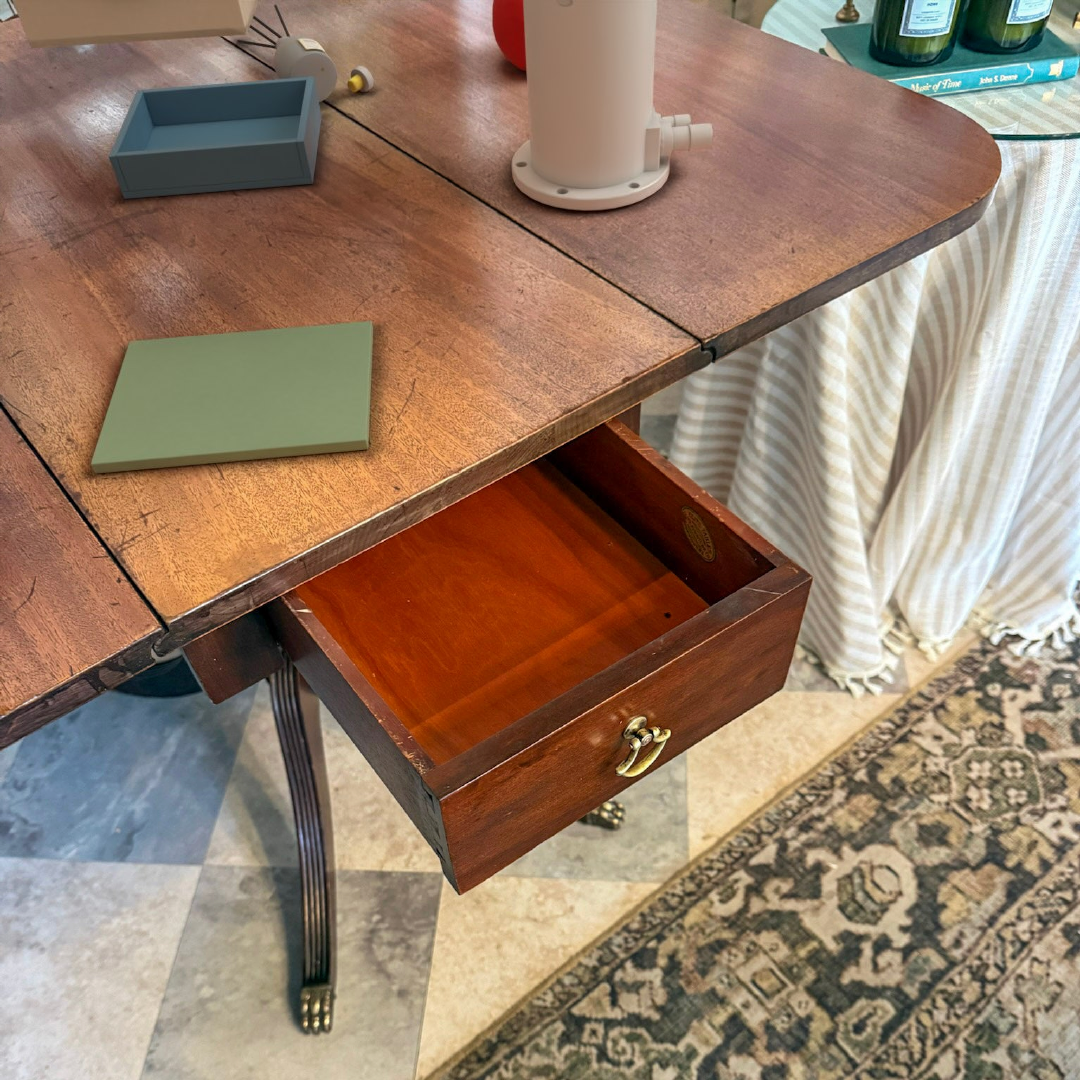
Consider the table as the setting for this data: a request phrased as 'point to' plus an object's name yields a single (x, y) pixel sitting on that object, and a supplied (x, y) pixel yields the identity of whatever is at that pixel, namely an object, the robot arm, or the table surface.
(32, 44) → the cream bin
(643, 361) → the table surface
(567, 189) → the robot arm
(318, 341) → the mat
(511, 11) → the fruit
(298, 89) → the blue tote
